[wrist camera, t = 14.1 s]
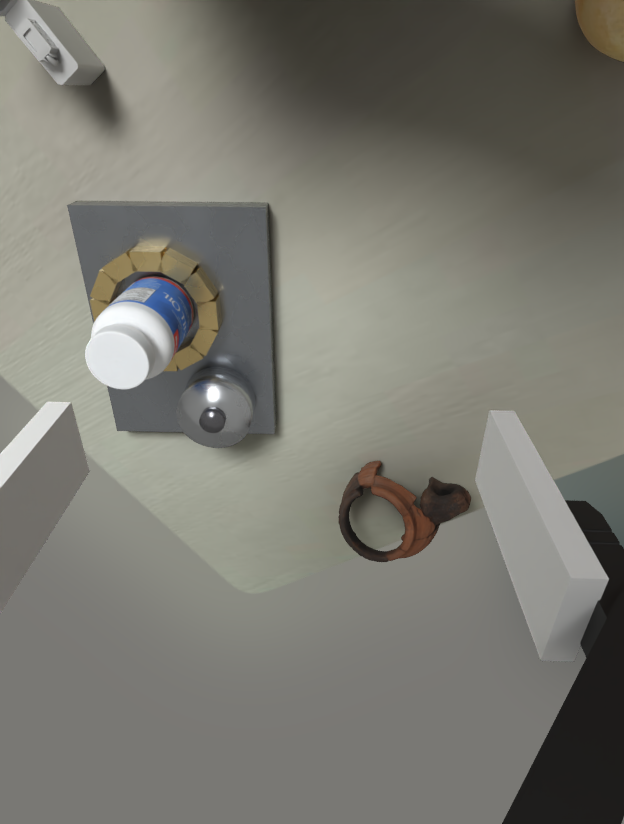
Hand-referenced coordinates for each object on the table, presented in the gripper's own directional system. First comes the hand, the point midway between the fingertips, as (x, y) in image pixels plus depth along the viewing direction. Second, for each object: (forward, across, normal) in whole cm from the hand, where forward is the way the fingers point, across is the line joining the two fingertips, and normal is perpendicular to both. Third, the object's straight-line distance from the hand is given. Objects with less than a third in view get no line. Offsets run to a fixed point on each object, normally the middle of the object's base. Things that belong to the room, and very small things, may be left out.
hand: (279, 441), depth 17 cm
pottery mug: (+27, +9, -24) cm, 37 cm away
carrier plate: (+27, -10, -7) cm, 29 cm away
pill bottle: (+25, -12, -5) cm, 28 cm away
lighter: (+27, -16, +13) cm, 34 cm away
